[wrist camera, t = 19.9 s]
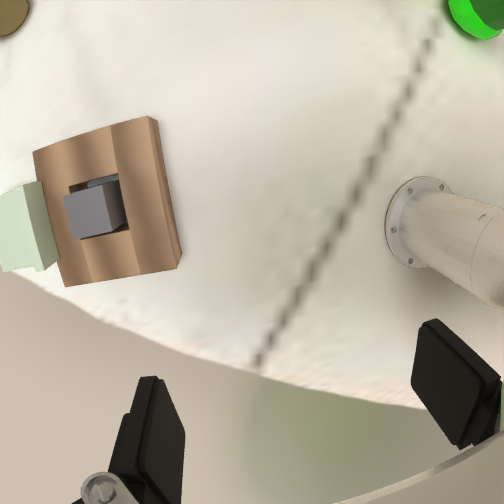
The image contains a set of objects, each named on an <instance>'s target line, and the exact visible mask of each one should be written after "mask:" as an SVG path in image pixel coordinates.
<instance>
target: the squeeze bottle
mask: <svg viewBox="0 0 504 504" xmlns="http://www.w3.org/2000/svg"><path fill="white" fill-rule="evenodd" d="M27 13H28V4H27V2H26V0H0V36H2V35H9V34H10V33H12V32H14V31H15V30H16V29H17V28H18V27H19V26H20V25H21V24H22V22H23V21H24V20H25V18H26V15H27Z"/></svg>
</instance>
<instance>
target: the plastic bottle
mask: <svg viewBox="0 0 504 504" xmlns="http://www.w3.org/2000/svg"><path fill="white" fill-rule="evenodd" d="M448 5H449V8H450V12H451V15H452V17H453V20H454V21H455V22H456V23H457V24H458V25H459V27H461V28H462V29H463V30H464V31H465V32H467V33H469V34H471V35H473V36H475V37H477V38H478V39H482V40H487V39H491V38H493V37H495V36H497V35H499V34H500V33H501V32H502V30H503V29H504V0H449V1H448Z"/></svg>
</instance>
